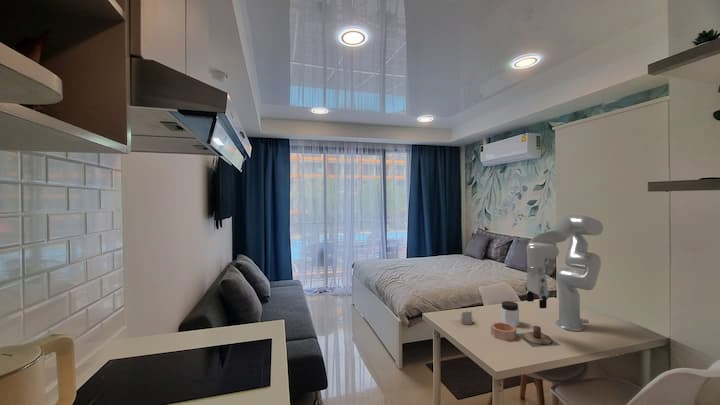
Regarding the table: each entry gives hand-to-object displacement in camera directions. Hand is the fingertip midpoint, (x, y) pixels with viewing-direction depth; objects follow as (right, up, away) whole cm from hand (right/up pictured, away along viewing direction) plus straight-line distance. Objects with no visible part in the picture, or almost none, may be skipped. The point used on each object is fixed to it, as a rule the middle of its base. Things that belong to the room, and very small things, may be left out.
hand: (536, 304), depth 152 cm
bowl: (-14, -18, +5) cm, 23 cm away
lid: (+1, -17, 0) cm, 17 cm away
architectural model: (-27, -19, +23) cm, 40 cm away
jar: (-4, -18, +19) cm, 26 cm away
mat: (+1, -18, 0) cm, 18 cm away
